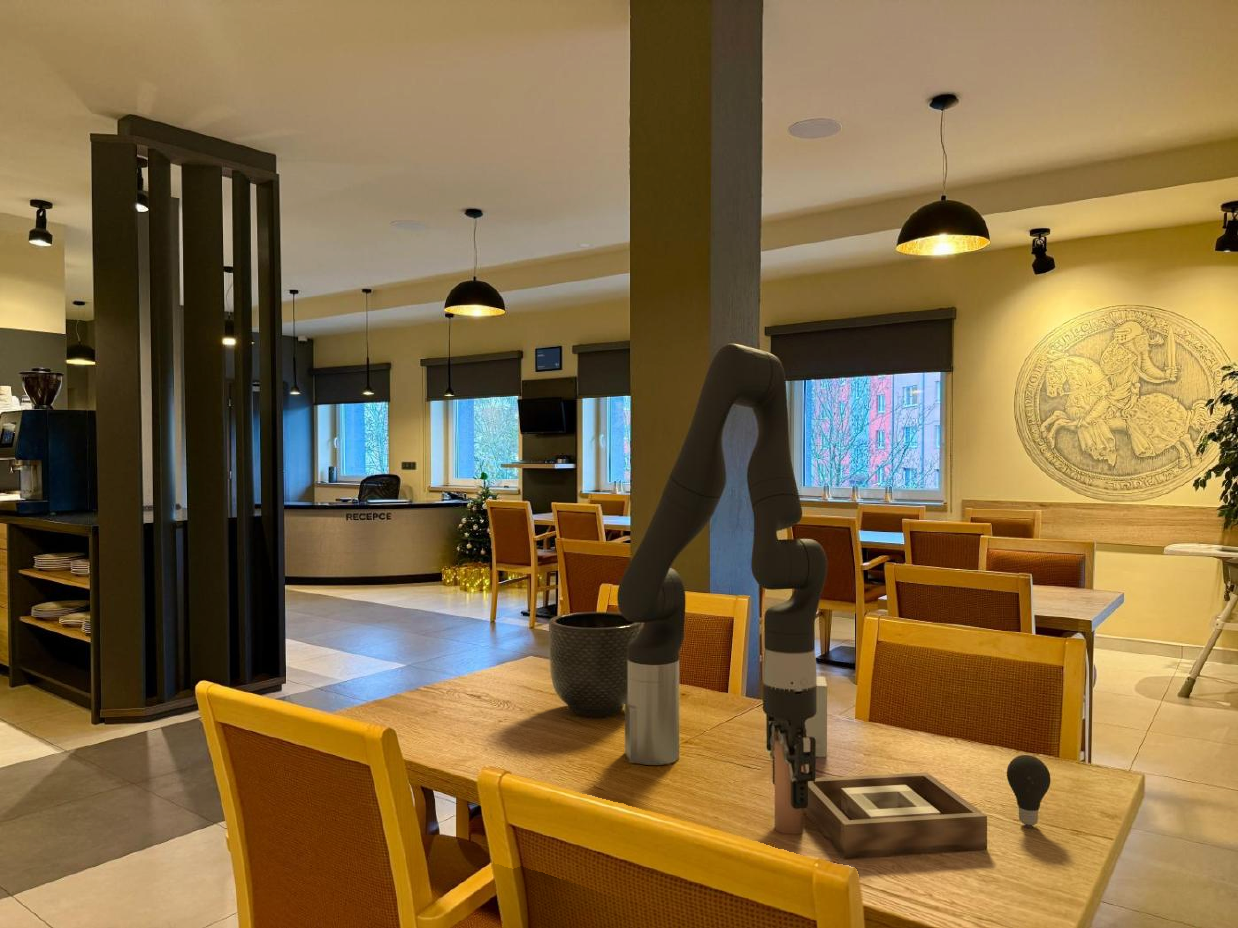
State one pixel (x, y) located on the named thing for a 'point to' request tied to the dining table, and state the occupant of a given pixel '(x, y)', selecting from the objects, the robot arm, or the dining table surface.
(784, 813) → the peg
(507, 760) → the dining table surface
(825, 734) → the supplement box
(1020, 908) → the dining table surface
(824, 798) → the box
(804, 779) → the robot arm
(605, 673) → the planter
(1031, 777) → the light bulb
